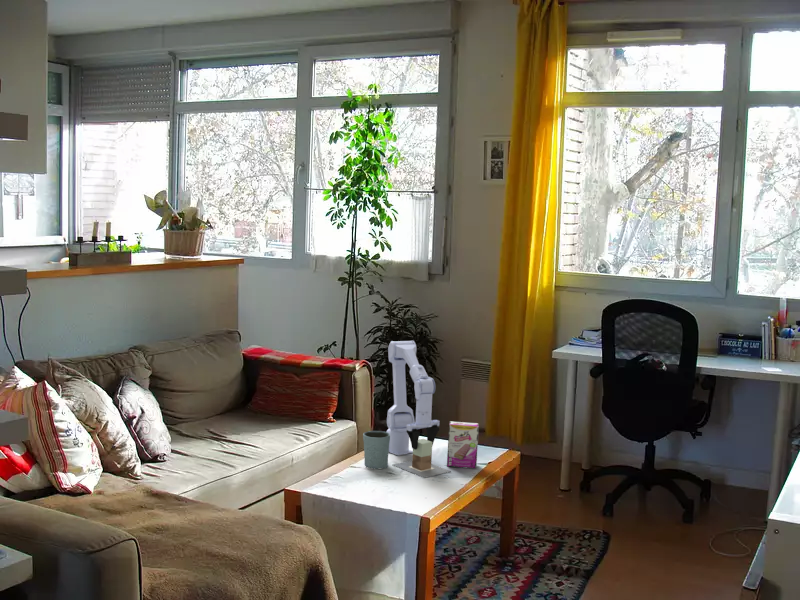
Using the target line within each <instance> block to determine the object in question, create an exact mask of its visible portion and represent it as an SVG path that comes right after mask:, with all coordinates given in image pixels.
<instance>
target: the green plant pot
mask: <svg viewBox="0 0 800 600" xmlns="http://www.w3.org/2000/svg"><path fill="white" fill-rule="evenodd" d="M362 439H363V440H362V441H363V451H364V453H363V455H364V457H363V458H364V466H366V468H367V467H368V468H367V469H371V468H373V469H372V470H379V469H378V468H383V469H386V468H387V467H388V465H389V453H390V452H389V443H390V434H389V433H388V432H387V431H385V430H384V431H382V430H369V431H365V432H363V434H362ZM385 467H386V468H385ZM374 468H375V469H374Z"/></svg>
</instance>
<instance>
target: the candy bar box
mask: <svg viewBox="0 0 800 600" xmlns="http://www.w3.org/2000/svg"><path fill="white" fill-rule="evenodd" d="M479 425H480V424H479V423H477V422H464V421H462V422H461V421H451V420H450V421H449V424H448V438H447V439H448V442H447V454H446V456H447V457H446V467H449V466H455V467H454V468H462V467H467V468H466V469H477V463H478V461H477V460H478V449H479V448H478V447H479V446H478V445H479V444H478V443H479V429H480V428H479V427H480V426H479Z"/></svg>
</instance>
